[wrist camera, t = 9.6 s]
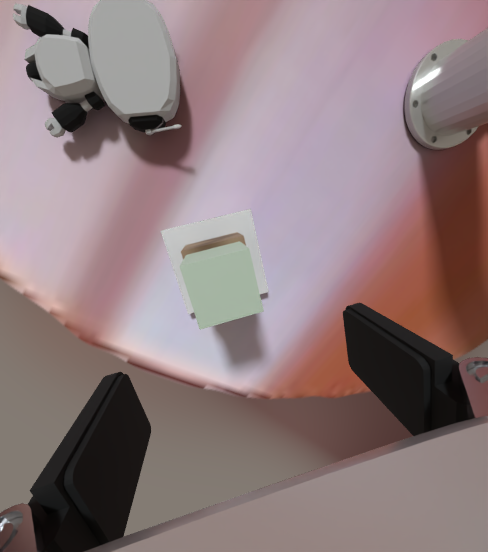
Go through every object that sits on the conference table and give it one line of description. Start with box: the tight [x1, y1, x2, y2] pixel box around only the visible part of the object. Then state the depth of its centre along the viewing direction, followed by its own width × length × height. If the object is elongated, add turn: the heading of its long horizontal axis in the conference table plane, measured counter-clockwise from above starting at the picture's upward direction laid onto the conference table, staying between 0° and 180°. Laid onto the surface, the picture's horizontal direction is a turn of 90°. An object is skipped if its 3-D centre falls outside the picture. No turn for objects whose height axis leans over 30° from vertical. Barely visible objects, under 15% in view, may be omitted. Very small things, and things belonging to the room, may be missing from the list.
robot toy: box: [13, 0, 182, 137], centre depth 24 cm, size 12×4×15 cm
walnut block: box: [181, 232, 246, 259], centre depth 29 cm, size 7×7×6 cm
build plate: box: [161, 209, 268, 314], centre depth 32 cm, size 12×12×1 cm
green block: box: [179, 241, 263, 329], centre depth 23 cm, size 6×6×6 cm
